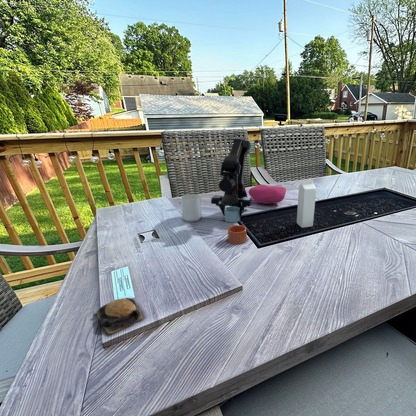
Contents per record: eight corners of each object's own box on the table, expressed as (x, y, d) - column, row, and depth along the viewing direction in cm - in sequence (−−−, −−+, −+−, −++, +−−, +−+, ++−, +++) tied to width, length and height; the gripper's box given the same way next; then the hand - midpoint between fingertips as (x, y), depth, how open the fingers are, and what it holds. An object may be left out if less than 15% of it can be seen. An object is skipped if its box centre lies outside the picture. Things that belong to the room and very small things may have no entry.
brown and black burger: (94, 313, 66) (91, 301, 65) (130, 298, 72) (128, 287, 71) (106, 337, 59) (102, 324, 58) (145, 318, 65) (143, 306, 64)
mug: (203, 220, 125) (201, 198, 121) (183, 223, 121) (181, 200, 118) (199, 212, 135) (198, 191, 131) (181, 214, 132) (179, 193, 128)
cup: (236, 234, 113) (235, 223, 111) (249, 238, 110) (249, 227, 108) (224, 240, 107) (223, 229, 105) (238, 245, 103) (238, 234, 102)
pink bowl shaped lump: (244, 200, 157) (243, 184, 154) (266, 194, 170) (266, 179, 167) (270, 210, 143) (271, 193, 140) (293, 203, 156) (293, 187, 153)
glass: (231, 215, 133) (231, 205, 131) (243, 218, 130) (243, 208, 128) (221, 220, 127) (221, 209, 125) (233, 223, 124) (233, 212, 122)
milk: (313, 226, 125) (317, 181, 118) (301, 228, 123) (305, 182, 115) (307, 221, 130) (310, 178, 123) (296, 223, 128) (299, 179, 120)
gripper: (205, 189, 116) (207, 222, 121) (247, 192, 115) (247, 224, 120) (214, 183, 126) (215, 213, 131) (252, 185, 125) (252, 216, 131)
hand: (232, 217), depth 128 cm, fingers closed on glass, 7 cm apart
